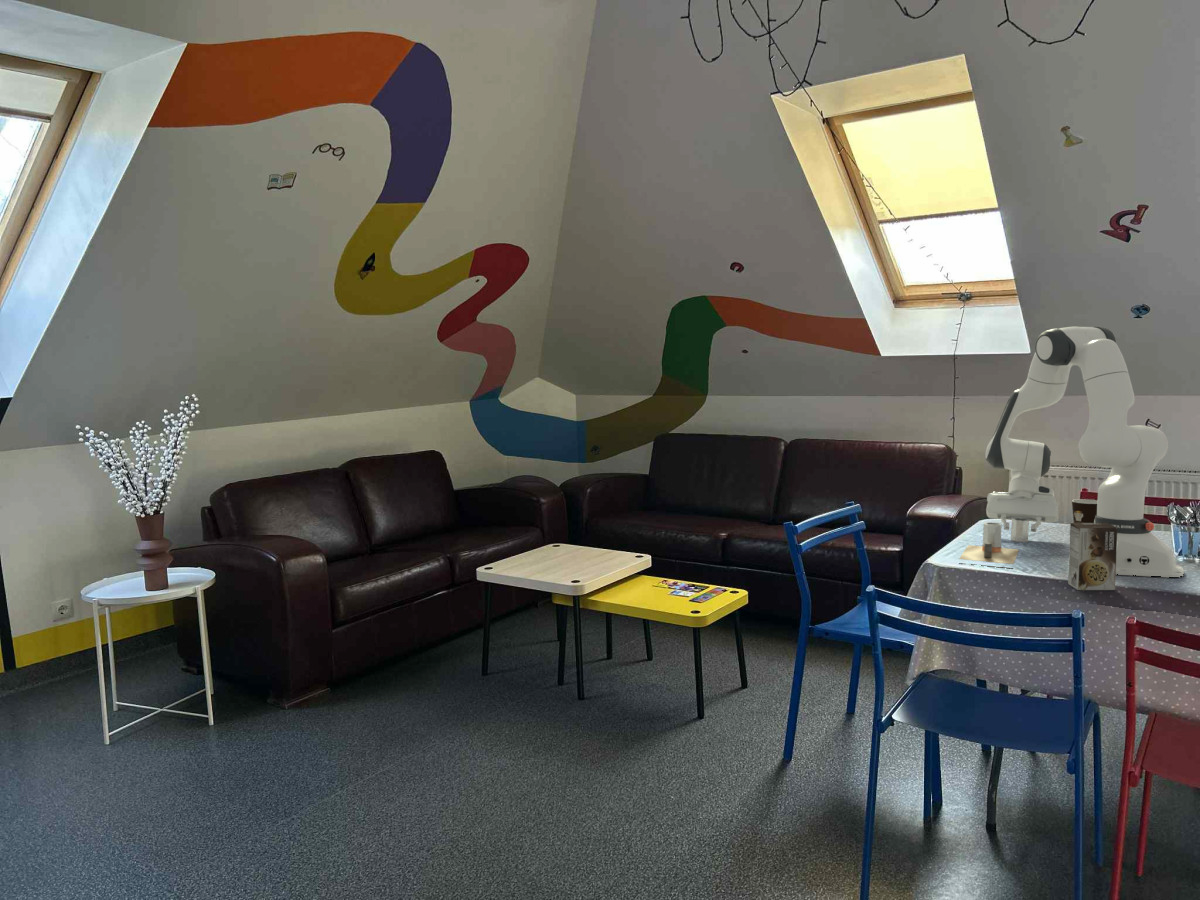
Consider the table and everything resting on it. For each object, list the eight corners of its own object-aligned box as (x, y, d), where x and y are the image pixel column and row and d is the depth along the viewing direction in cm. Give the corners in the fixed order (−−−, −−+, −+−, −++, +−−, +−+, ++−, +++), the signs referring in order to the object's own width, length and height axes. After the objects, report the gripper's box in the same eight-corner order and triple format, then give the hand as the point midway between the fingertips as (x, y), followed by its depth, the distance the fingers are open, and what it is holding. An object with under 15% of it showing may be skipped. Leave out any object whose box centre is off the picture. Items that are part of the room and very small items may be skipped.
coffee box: (1104, 584, 233) (1107, 522, 231) (1115, 591, 226) (1119, 527, 224) (1066, 583, 233) (1069, 522, 232) (1077, 590, 227) (1080, 526, 225)
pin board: (1019, 554, 267) (1019, 536, 266) (1013, 569, 249) (1013, 549, 249) (968, 550, 274) (968, 532, 273) (958, 564, 256) (959, 544, 256)
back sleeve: (1001, 549, 267) (1002, 522, 266) (999, 553, 262) (1000, 525, 262) (983, 548, 269) (984, 521, 268) (981, 551, 265) (982, 524, 264)
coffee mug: (1065, 529, 303) (1066, 499, 302) (1091, 528, 303) (1092, 499, 301) (1083, 536, 291) (1085, 505, 290) (1110, 535, 291) (1112, 505, 290)
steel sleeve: (1028, 544, 280) (1029, 518, 280) (1027, 547, 276) (1028, 521, 275) (1011, 542, 283) (1012, 517, 282) (1010, 545, 278) (1010, 520, 278)
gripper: (987, 485, 289) (982, 521, 281) (1059, 489, 279) (1056, 526, 271) (988, 497, 293) (983, 532, 286) (1059, 501, 283) (1056, 538, 276)
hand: (1019, 529), depth 278 cm, fingers open, 6 cm apart
